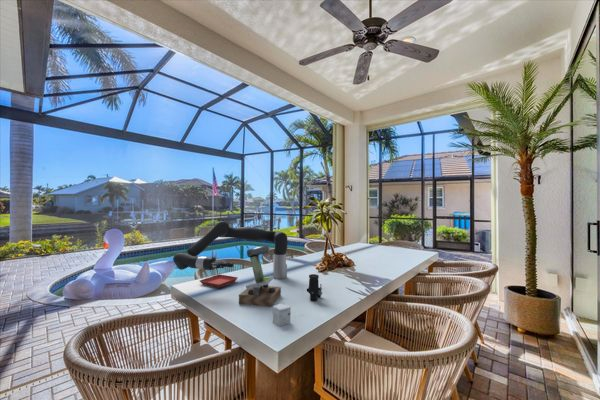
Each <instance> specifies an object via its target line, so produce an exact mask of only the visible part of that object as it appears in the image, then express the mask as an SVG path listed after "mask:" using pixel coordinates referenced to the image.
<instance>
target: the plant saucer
mask: <svg viewBox="0 0 600 400" xmlns="http://www.w3.org/2000/svg"><path fill="white" fill-rule="evenodd" d="M238 279H239V277H237V276H231V275H226V274H225V275H224V274H221V273H220V274H215V275H213V276H209V277H206V278H203V279H200V280H199V282H200V283H201V284H202V285H203V286H208V287H214V288H219V289H220V288H223V287H225V286H228V285H231V284H233V283H236V281H237V280H238Z"/></svg>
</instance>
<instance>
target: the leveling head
mask: <svg viewBox="0 0 600 400" xmlns="http://www.w3.org/2000/svg"><path fill="white" fill-rule="evenodd" d="M269 253H270V246H269V245H268V244H266V245H262V246H258V247H254V248H253V247H252V248H249V249H247V250H246V255H247V257H248V258H249V259H250V263H251V268H252V271H253V276H254V279H253V280H252V281H250V282H249V283H248V284H246V285H245V288H246V289H248V288H253V287H259V288H261V287H262V286H263V285H267V284H268V285H269V283H271V282H272V281H273V280H274V279H275V278H274V277H273V275H270V276H266V277H265V276H264V271H263V268H262V263H261V259H260V256H262V255H265V254H266V255H267V254H269Z"/></svg>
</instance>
